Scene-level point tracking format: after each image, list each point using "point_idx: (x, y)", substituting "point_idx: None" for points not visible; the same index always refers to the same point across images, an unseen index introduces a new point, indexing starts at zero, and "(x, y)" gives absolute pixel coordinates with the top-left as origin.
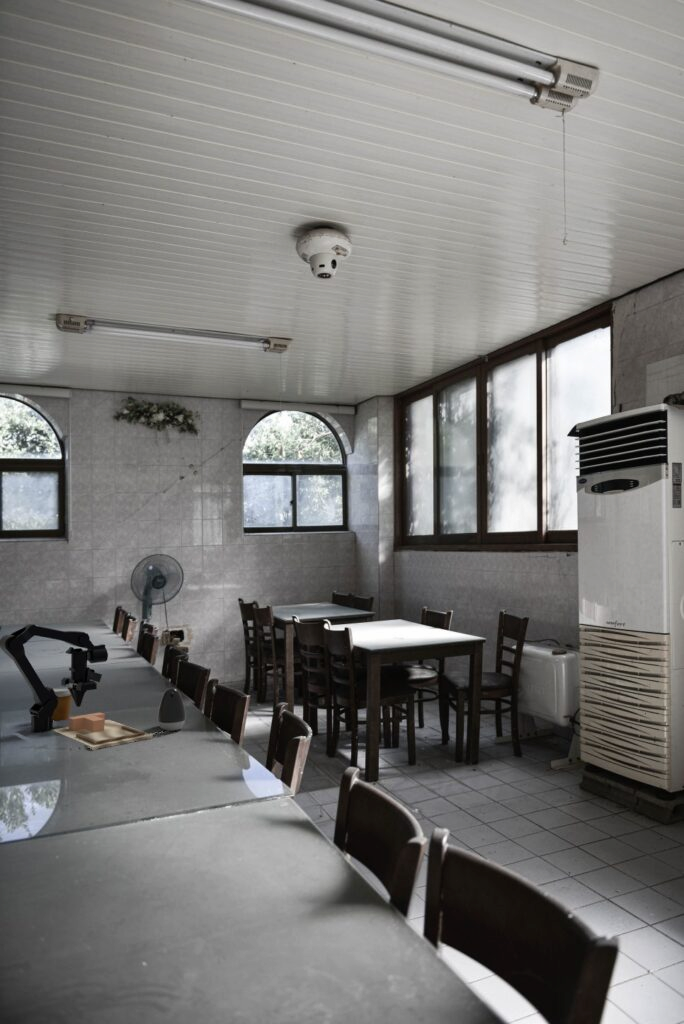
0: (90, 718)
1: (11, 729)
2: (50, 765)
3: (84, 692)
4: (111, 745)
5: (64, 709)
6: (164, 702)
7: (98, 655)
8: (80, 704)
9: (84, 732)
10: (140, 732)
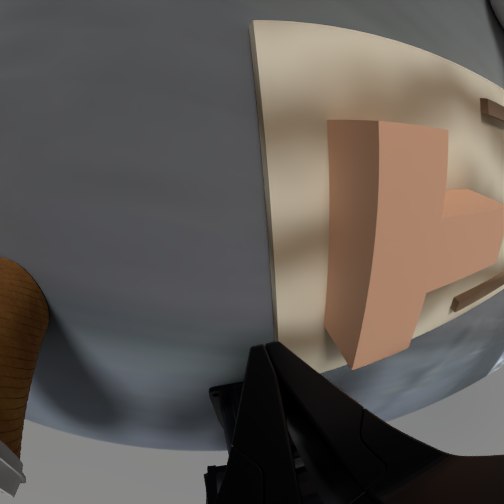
0: (465, 263)
1: (127, 441)
2: (491, 346)
3: (448, 462)
4: None
5: (16, 343)
6: None
7: None
8: (293, 357)
9: None
10: None
